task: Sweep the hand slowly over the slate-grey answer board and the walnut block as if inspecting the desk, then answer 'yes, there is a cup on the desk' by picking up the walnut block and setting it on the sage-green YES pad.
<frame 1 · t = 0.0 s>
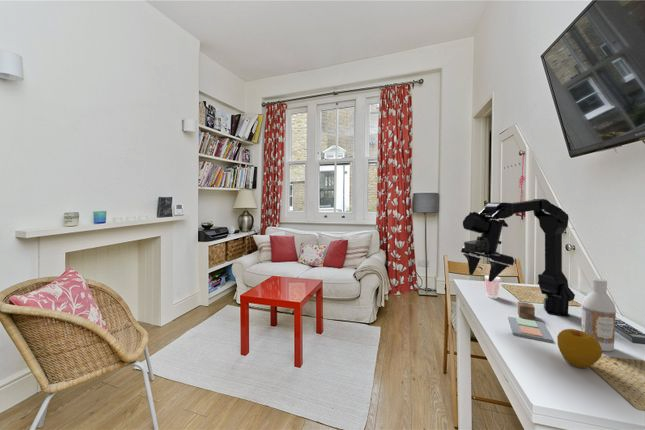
hand: (480, 277, 98), 15 cm above the table, tool pointing down, fingers open, 9 cm apart
answer board: (528, 329, 91), on the table
walnut block: (525, 316, 102), on the table
bath foam: (596, 346, 81), on the table
apple: (577, 364, 72), on the table
beverage cup: (491, 296, 124), on the table
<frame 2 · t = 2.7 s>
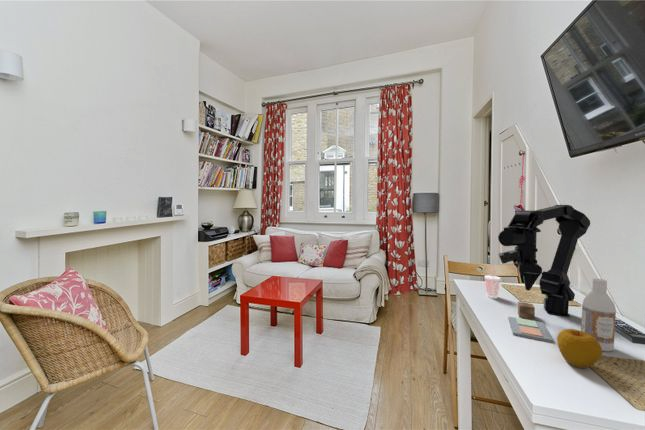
hand: (525, 286, 100), 12 cm above the table, tool pointing down, fingers open, 9 cm apart
nothing on the table moved.
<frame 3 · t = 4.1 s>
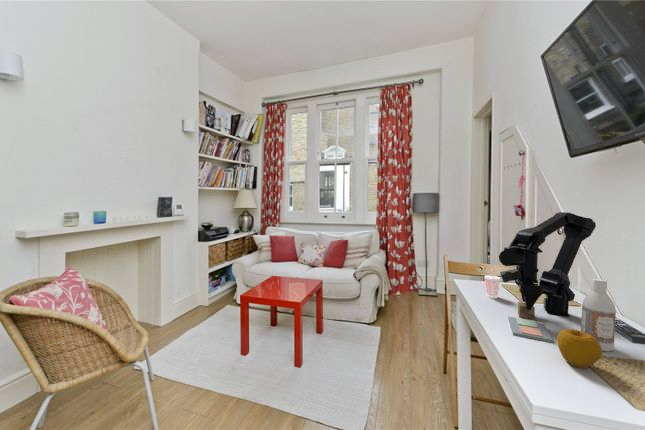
hand: (526, 305, 102), 4 cm above the table, tool pointing down, fingers open, 9 cm apart
nothing on the table moved.
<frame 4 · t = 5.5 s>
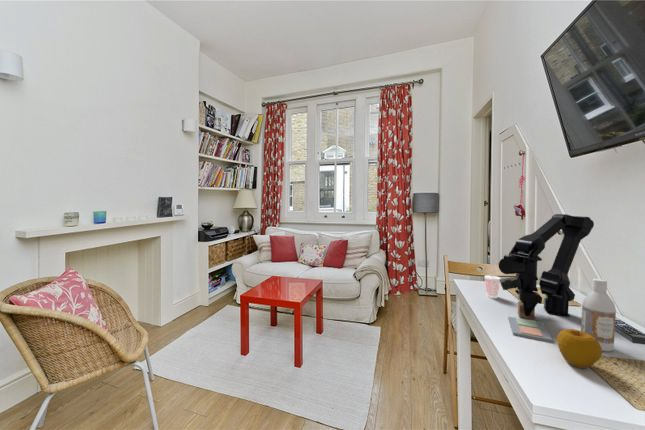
hand: (525, 313, 102), 1 cm above the table, tool pointing down, fingers closed on walnut block, 4 cm apart
walnut block: (525, 316, 102), on the table, touching gripper
everything else where it was.
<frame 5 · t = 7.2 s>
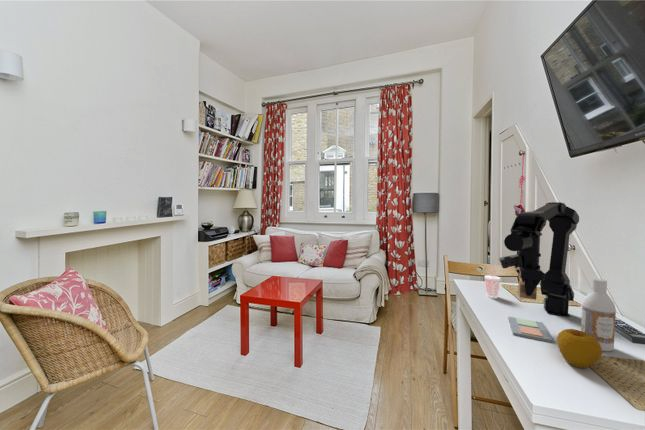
hand: (527, 293, 94), 11 cm above the table, tool pointing down, fingers closed on walnut block, 4 cm apart
walnut block: (526, 296, 94), point 10 cm above the table, touching gripper
everything else where it was.
when the fingers open (3 cm above the table, at t = 9.0 s): walnut block stays where it is, resting on answer board.
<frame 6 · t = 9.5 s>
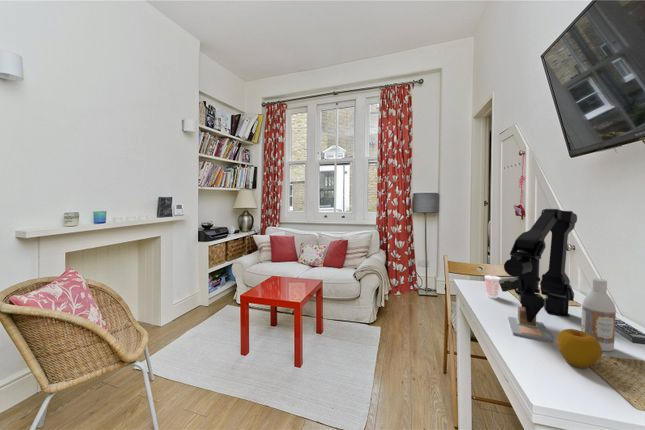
hand: (526, 316, 94), 3 cm above the table, tool pointing down, fingers open, 9 cm apart
walnut block: (526, 322, 94), point 1 cm above the table, touching answer board
everything else where it was.
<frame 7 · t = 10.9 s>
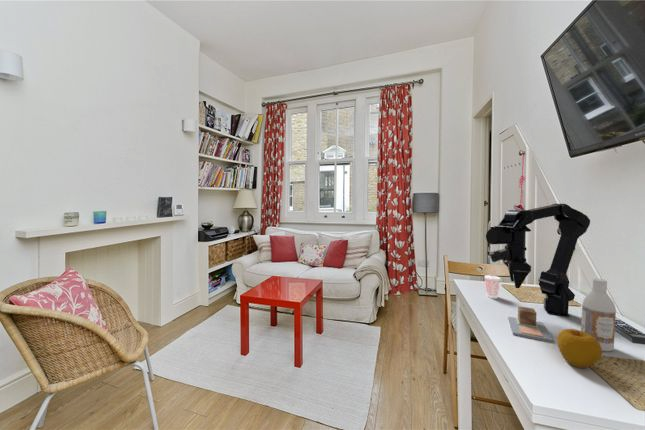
hand: (514, 284, 102), 12 cm above the table, tool pointing down, fingers open, 9 cm apart
nothing on the table moved.
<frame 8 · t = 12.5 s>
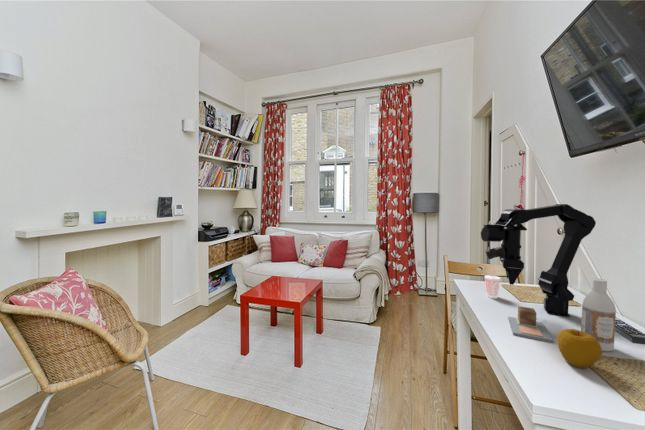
hand: (510, 281, 106), 12 cm above the table, tool pointing down, fingers open, 9 cm apart
nothing on the table moved.
at the end: walnut block 0.1 cm from the target spot on the answer board, point 1.1 cm above the answer board's base; the gripper is holding nothing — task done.
